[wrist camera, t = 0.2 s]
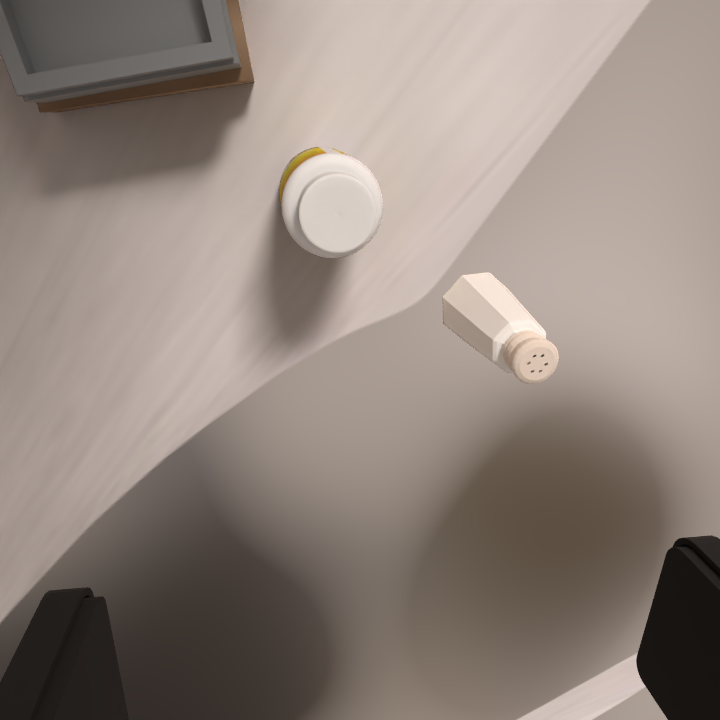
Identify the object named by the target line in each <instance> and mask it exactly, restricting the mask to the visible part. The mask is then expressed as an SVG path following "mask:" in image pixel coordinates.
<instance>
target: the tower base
mask: <svg viewBox="0 0 720 720" xmlns="http://www.w3.org/2000/svg"><path fill="white" fill-rule="evenodd" d="M226 2H227V6H228V11H229V15H230V19H231V24H232V28H233V32H234V37H235V41H236V45H237V50H238V54H239V59H240V63H241V67H242V68H237V69H231V70H226V71H220V72H215V73H209V74H204V75H198V76H192V77H187V78H181V79H176V80H170V81H165V82H159V83H154V84H148V85H143V86H137V87H131V88H126V89H120V90H115V91H109V92H104V93H98V94H93V95H87V96H82V97H76V98H70V99H65V100H59V101H54V102H48V103H41V102H37V105H38V107H39V110H40V112H61V111H67V110H74V109H80V108H87V107H93V106H100V105H107V104H113V103H120V102H126V101H133V100H139V99H146V98H152V97H159V96H166V95H172V94H179V93H185V92H192V91H198V90H205V89H211V88H218V87H225V86H231V85H238V84H244V83H251V82H254V78H253V73H252V68H251V63H250V58H249V53H248V48H247V43H246V38H245V33H244V28H243V23H242V18H241V13H240V8H239V2H238V0H226Z"/></svg>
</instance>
